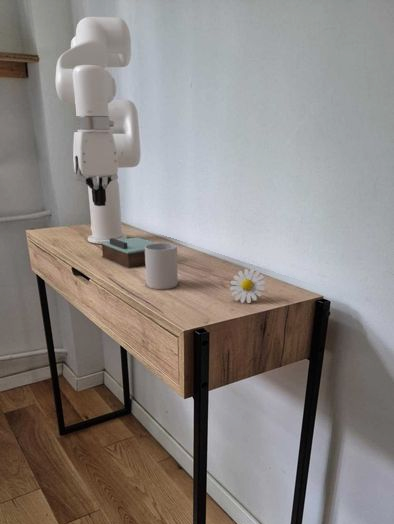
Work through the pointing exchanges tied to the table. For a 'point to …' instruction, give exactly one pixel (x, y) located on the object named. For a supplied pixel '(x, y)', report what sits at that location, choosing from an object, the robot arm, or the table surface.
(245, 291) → the decorative flower
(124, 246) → the glass top
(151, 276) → the cup
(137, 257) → the case
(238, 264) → the table surface
